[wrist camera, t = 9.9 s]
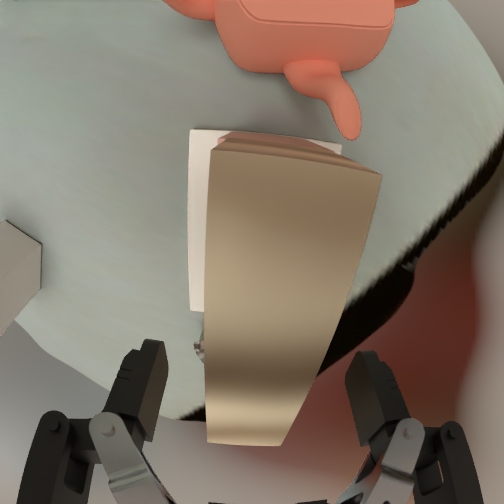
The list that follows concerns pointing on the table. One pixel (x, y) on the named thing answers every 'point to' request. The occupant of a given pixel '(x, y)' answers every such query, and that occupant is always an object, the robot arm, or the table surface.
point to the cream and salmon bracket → (198, 194)
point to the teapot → (303, 42)
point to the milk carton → (17, 272)
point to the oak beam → (275, 278)
